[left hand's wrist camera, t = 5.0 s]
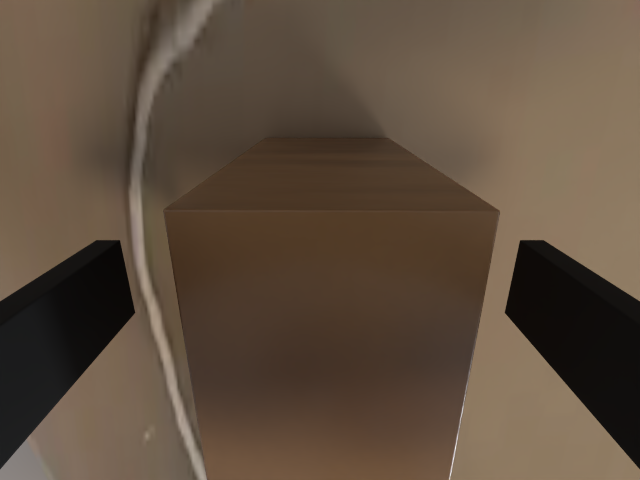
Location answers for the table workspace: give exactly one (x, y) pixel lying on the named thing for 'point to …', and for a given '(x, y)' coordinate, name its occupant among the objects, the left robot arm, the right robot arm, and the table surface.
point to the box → (330, 310)
